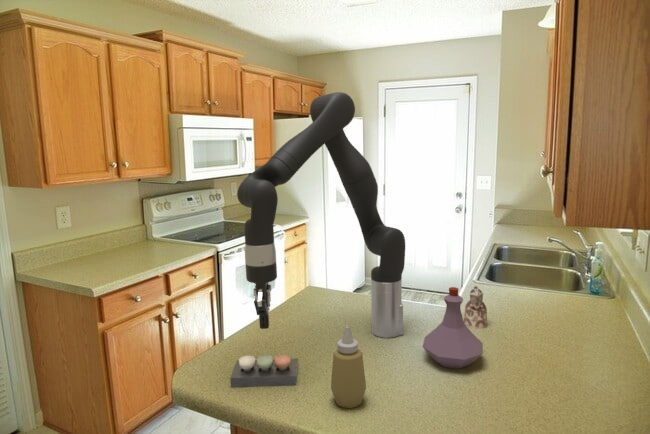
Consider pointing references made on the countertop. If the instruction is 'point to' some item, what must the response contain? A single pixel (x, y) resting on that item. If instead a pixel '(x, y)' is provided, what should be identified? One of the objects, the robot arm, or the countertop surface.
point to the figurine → (475, 310)
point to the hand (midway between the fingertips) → (264, 327)
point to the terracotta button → (282, 362)
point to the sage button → (265, 362)
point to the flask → (453, 337)
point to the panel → (264, 376)
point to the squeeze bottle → (348, 372)
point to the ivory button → (247, 363)
